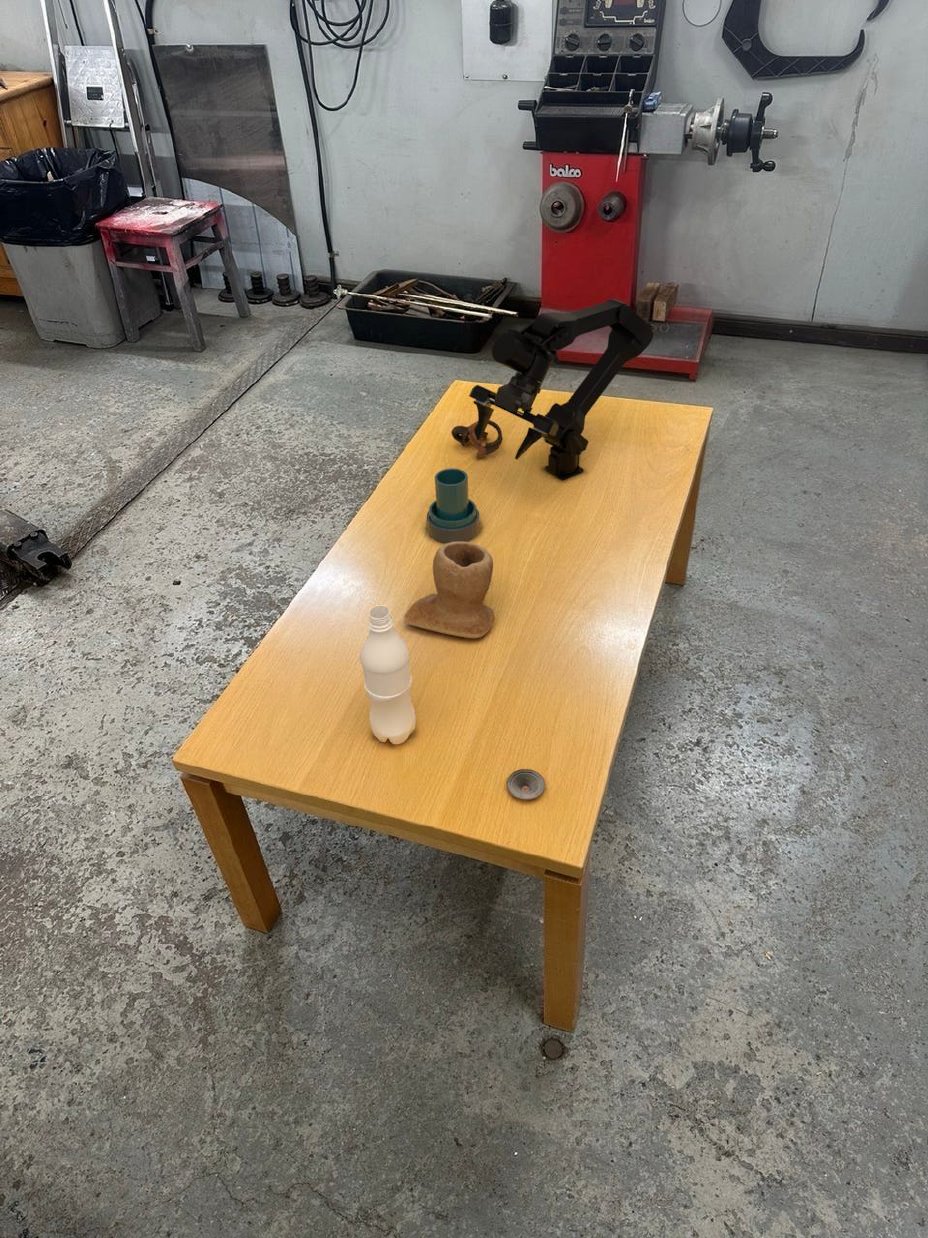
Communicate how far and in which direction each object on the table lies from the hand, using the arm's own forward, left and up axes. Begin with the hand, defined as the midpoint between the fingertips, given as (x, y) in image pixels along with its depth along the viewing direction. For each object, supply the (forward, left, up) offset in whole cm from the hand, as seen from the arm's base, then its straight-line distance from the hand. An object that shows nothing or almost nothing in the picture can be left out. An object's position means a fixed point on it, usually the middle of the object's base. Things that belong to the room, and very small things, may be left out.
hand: (496, 449), depth 175 cm
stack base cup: (+13, +2, -13) cm, 19 cm away
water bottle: (+52, +43, -13) cm, 69 cm away
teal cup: (+13, +2, -11) cm, 17 cm away
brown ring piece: (-10, -22, -13) cm, 27 cm away
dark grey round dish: (+42, +64, -13) cm, 78 cm away
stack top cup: (+13, +2, -13) cm, 19 cm away
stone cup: (+29, +26, -13) cm, 41 cm away
